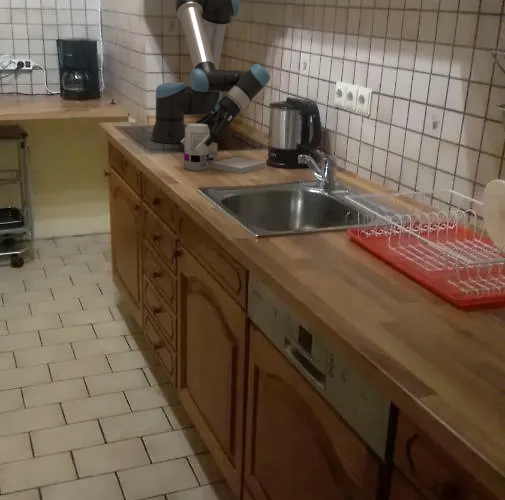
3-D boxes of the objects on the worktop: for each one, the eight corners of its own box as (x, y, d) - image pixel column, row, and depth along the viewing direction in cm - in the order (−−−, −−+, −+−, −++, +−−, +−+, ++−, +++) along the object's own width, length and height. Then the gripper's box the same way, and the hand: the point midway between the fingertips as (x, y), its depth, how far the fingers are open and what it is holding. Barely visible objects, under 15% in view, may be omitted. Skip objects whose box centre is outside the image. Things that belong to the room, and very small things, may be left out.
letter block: (200, 158, 248) (200, 142, 246) (216, 159, 249) (217, 143, 247) (199, 162, 242) (200, 145, 241) (216, 162, 243) (217, 146, 241)
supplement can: (179, 169, 230) (180, 124, 225) (192, 165, 236) (193, 122, 232) (199, 172, 226) (201, 127, 221) (212, 168, 233) (214, 125, 228)
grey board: (237, 162, 246) (237, 157, 245) (264, 167, 239) (265, 162, 239) (212, 168, 234) (212, 162, 233) (240, 174, 228) (240, 168, 227)
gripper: (256, 116, 221) (211, 163, 219) (225, 106, 242) (184, 148, 240) (242, 99, 217) (197, 147, 215) (212, 90, 238) (170, 134, 236)
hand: (190, 148), depth 228 cm, fingers open, 13 cm apart
